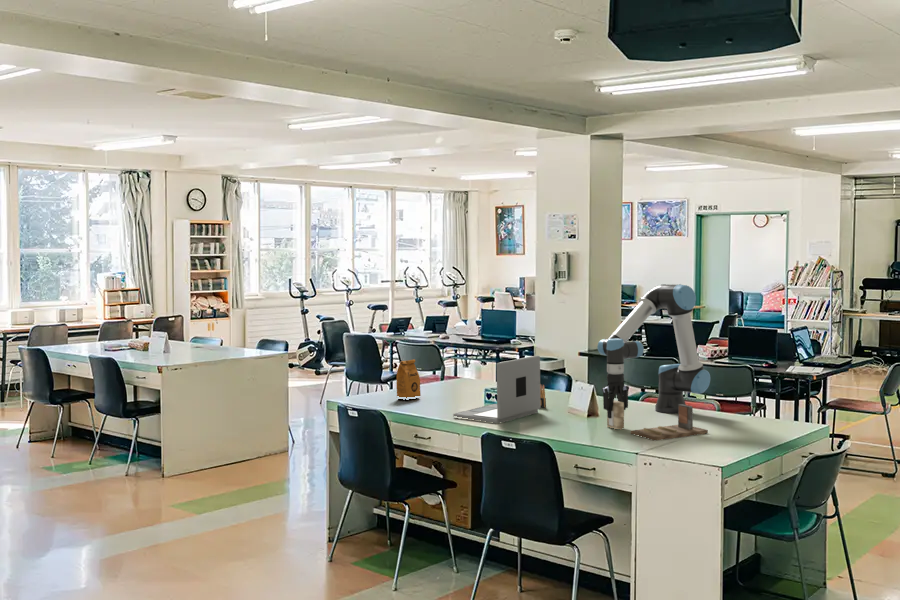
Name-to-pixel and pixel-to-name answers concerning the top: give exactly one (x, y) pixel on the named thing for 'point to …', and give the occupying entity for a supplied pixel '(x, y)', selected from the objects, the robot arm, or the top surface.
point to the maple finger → (617, 415)
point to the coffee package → (408, 379)
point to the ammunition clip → (542, 397)
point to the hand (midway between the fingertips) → (615, 424)
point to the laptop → (512, 392)
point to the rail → (673, 427)
